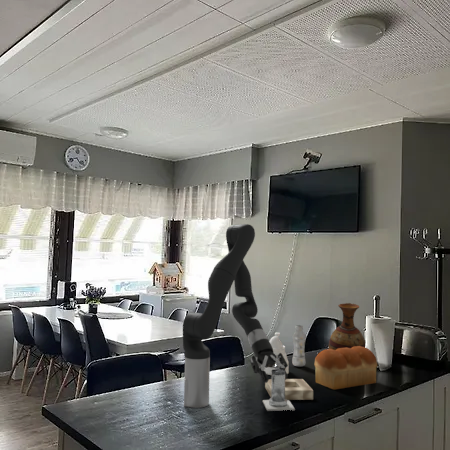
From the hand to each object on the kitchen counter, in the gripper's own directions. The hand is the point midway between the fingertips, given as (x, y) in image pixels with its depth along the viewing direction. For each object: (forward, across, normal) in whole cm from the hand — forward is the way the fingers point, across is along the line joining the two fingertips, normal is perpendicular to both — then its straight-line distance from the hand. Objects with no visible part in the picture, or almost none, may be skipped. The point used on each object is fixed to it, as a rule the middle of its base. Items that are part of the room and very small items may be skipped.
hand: (276, 380), depth 171 cm
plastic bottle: (-24, +45, +37) cm, 63 cm away
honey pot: (-22, +28, +35) cm, 50 cm away
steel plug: (+7, 0, +5) cm, 8 cm away
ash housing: (0, +13, +13) cm, 18 cm away
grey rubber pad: (+7, 0, +6) cm, 9 cm away
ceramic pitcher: (-25, +78, +38) cm, 91 cm away
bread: (-1, +45, +14) cm, 48 cm away
